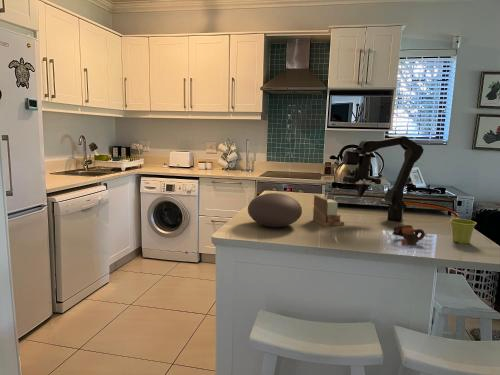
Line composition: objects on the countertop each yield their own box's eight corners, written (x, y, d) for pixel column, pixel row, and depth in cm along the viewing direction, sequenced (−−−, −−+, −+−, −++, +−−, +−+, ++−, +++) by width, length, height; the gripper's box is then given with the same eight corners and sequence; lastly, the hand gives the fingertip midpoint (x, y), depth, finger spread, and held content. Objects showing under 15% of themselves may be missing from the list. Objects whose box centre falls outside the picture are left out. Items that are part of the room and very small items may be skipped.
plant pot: (452, 244, 151) (454, 223, 150) (444, 237, 161) (447, 217, 159) (477, 246, 150) (480, 225, 148) (468, 239, 159) (471, 219, 158)
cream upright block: (330, 216, 186) (331, 199, 184) (337, 220, 179) (338, 202, 177) (320, 217, 184) (321, 199, 183) (326, 220, 178) (327, 202, 176)
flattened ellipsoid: (291, 235, 158) (292, 201, 155) (238, 228, 168) (238, 195, 165) (307, 223, 180) (309, 192, 177) (259, 216, 190) (260, 187, 188)
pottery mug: (394, 246, 149) (390, 226, 152) (395, 250, 157) (392, 231, 160) (427, 242, 145) (422, 221, 148) (427, 246, 153) (422, 227, 156)
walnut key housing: (332, 219, 189) (334, 194, 187) (343, 225, 177) (345, 199, 175) (312, 219, 186) (314, 195, 184) (323, 226, 175) (324, 199, 173)
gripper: (369, 165, 194) (365, 194, 197) (338, 163, 188) (334, 194, 190) (383, 167, 184) (379, 199, 186) (351, 166, 178) (347, 198, 180)
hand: (359, 197), depth 186 cm, fingers closed
